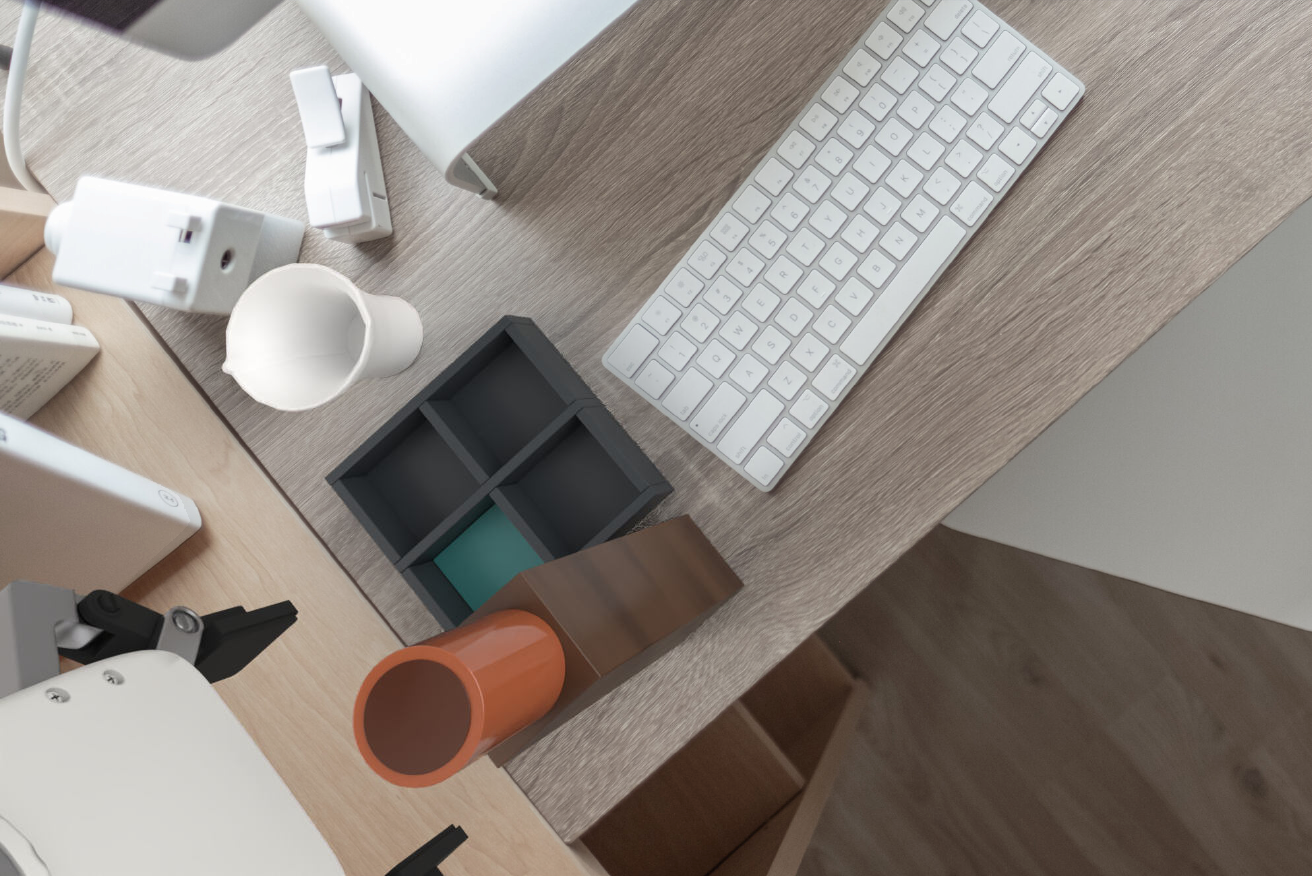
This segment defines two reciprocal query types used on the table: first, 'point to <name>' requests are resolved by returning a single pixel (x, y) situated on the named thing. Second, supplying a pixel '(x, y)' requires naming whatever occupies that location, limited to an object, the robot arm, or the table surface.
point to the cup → (315, 337)
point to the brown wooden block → (616, 611)
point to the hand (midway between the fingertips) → (346, 746)
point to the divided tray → (496, 473)
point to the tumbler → (456, 697)
